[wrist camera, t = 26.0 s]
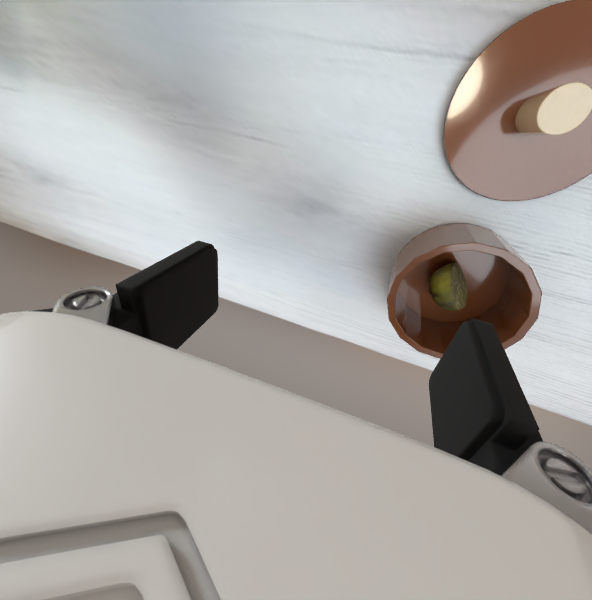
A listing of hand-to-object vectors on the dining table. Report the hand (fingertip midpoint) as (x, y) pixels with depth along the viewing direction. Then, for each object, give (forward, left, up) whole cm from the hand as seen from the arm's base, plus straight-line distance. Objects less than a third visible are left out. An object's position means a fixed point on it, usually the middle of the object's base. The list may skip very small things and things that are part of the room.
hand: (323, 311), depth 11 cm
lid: (-9, +10, -24) cm, 28 cm away
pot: (+7, +10, -25) cm, 28 cm away
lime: (+7, +10, -25) cm, 27 cm away
